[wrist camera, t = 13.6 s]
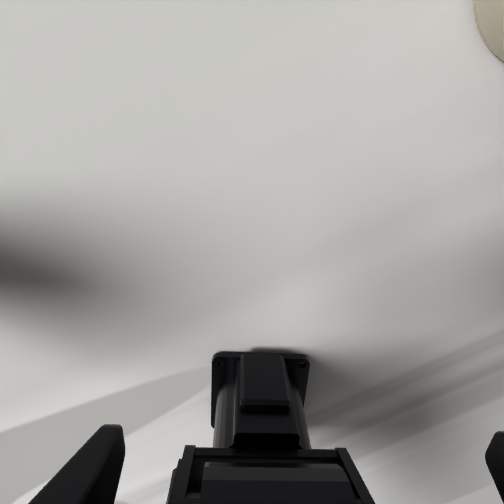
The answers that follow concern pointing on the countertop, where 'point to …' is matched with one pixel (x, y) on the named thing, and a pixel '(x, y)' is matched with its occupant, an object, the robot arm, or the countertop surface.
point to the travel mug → (491, 24)
